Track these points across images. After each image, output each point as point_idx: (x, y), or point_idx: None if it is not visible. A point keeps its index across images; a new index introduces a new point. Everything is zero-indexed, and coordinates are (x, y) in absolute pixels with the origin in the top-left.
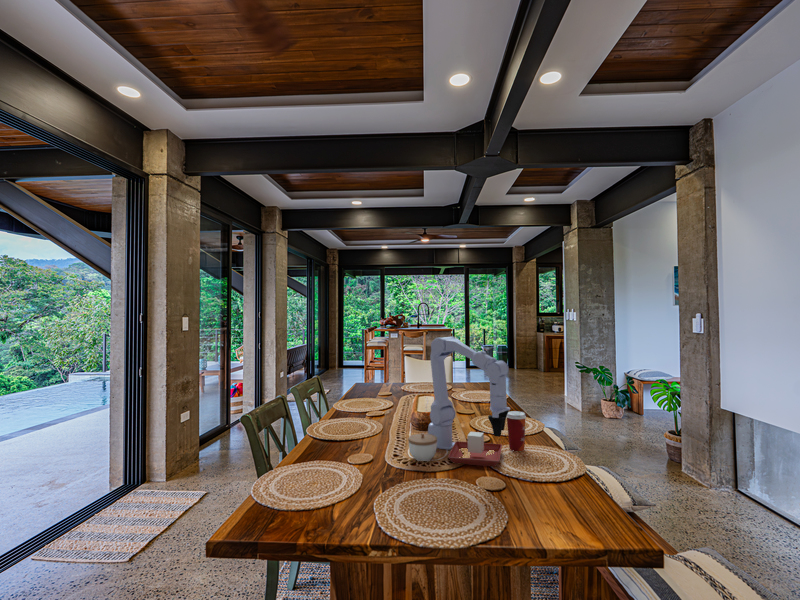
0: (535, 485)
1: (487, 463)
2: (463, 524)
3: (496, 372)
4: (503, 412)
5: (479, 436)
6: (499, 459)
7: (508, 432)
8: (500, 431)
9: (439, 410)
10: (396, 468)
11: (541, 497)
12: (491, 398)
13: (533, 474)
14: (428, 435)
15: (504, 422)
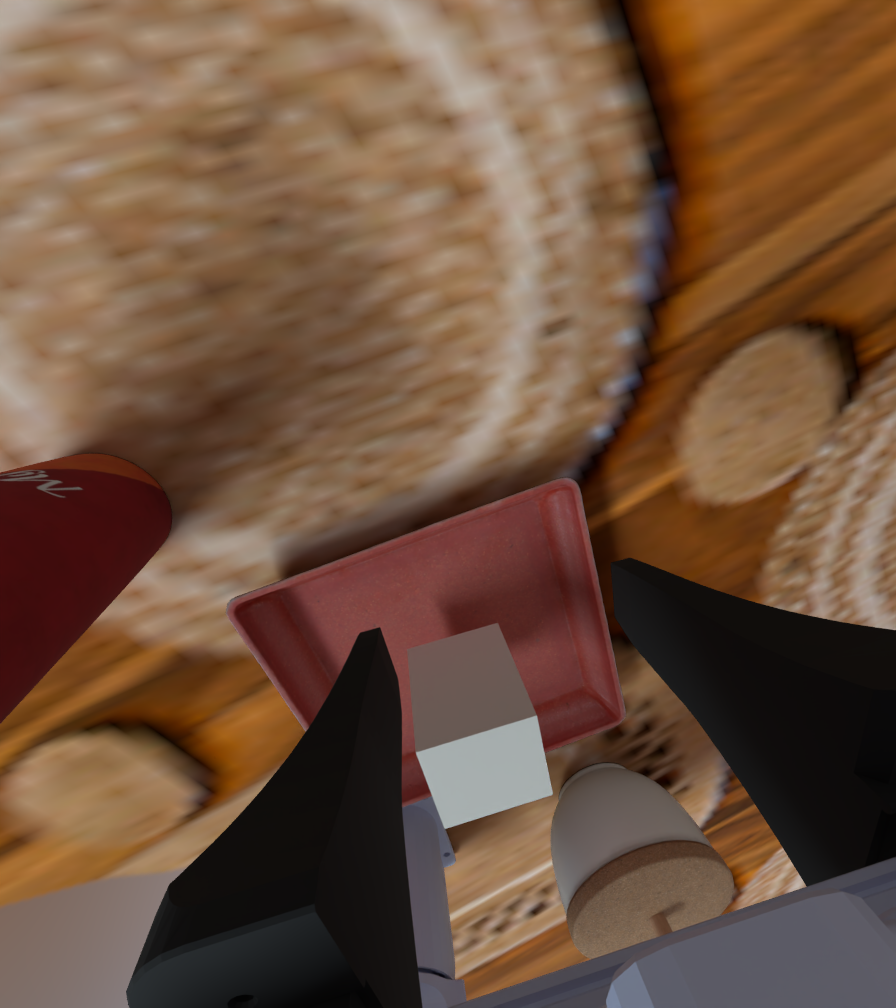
0: (722, 139)
1: (569, 537)
2: None
3: None
4: (359, 920)
5: (534, 727)
6: (545, 485)
7: (78, 638)
8: (685, 583)
9: None
10: (729, 792)
11: (891, 39)
12: None
13: (541, 214)
14: (612, 921)
15: (368, 698)
